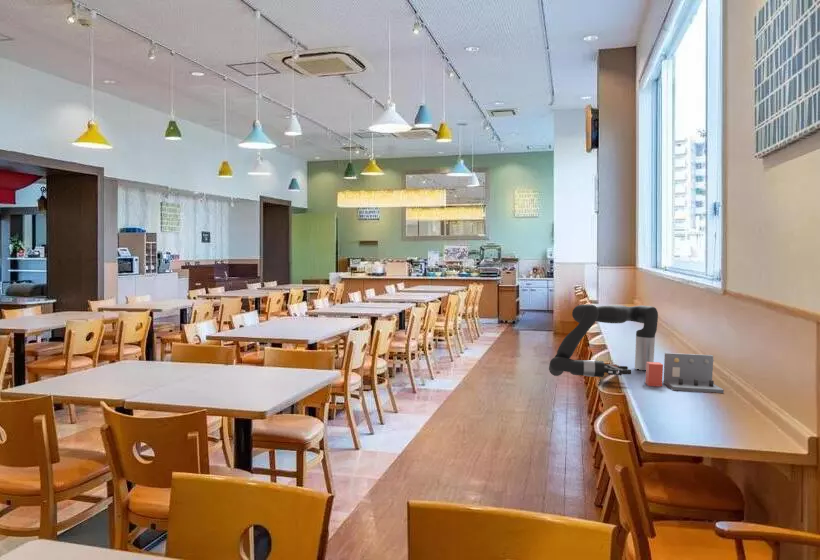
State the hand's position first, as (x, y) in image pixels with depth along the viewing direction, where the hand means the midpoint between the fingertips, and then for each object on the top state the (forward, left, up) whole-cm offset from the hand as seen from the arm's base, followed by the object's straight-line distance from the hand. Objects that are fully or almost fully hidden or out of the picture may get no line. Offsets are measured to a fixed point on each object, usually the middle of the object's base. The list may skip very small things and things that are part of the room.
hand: (629, 370), depth 289 cm
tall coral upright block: (0, +11, -6) cm, 13 cm away
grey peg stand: (+1, +28, -6) cm, 28 cm away
